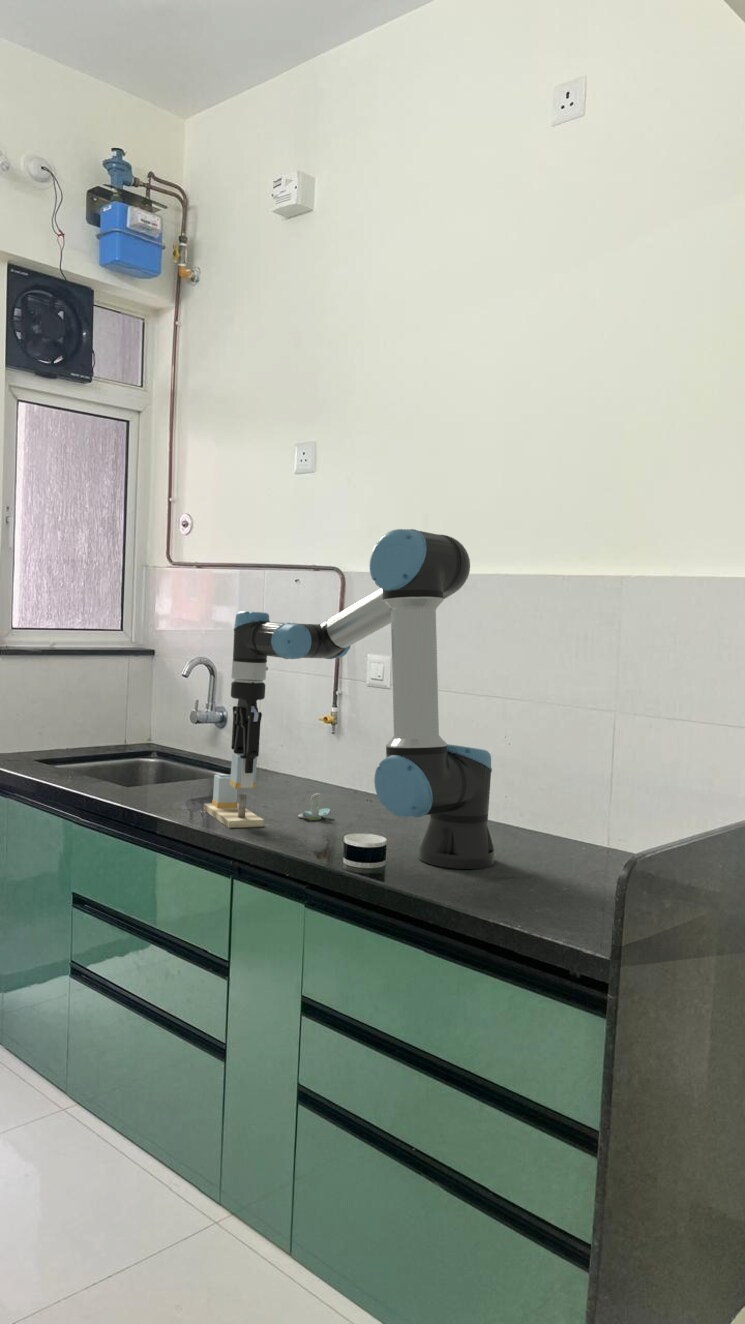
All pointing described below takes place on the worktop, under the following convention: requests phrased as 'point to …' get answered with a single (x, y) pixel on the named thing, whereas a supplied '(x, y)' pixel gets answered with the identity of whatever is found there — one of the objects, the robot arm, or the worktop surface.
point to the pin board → (235, 815)
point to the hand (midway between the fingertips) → (242, 785)
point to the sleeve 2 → (239, 771)
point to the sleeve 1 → (224, 792)
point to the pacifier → (315, 809)
